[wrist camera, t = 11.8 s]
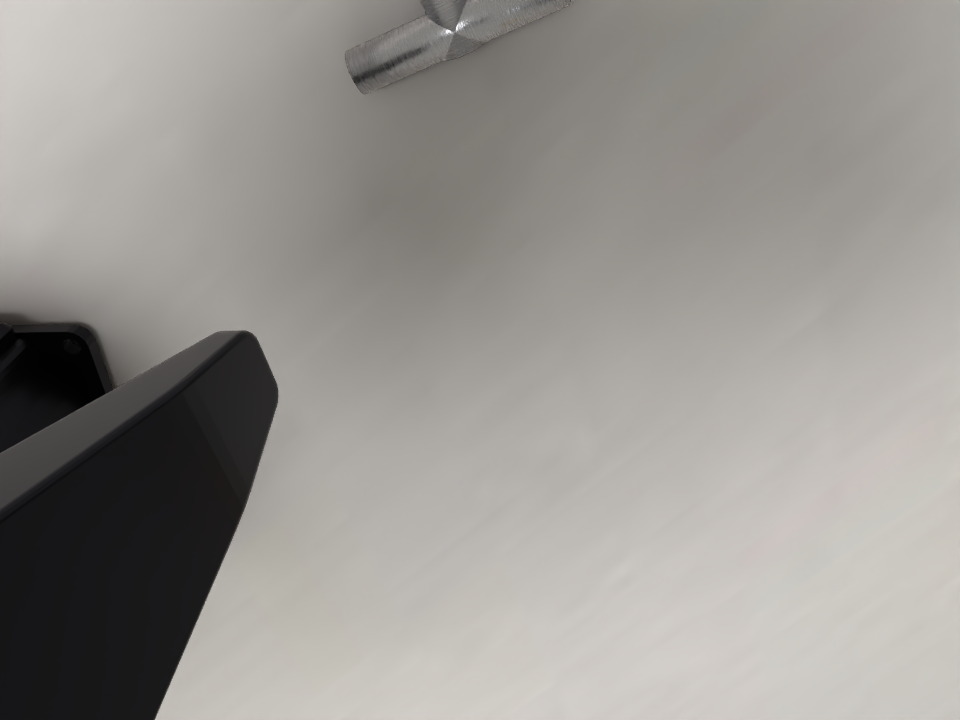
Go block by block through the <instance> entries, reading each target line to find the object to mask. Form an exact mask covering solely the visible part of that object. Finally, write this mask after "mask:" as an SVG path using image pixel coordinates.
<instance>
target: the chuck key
mask: <svg viewBox="0 0 960 720" xmlns="http://www.w3.org/2000/svg"><path fill="white" fill-rule="evenodd" d="M420 2H421V4H422V7H423V9H424V11H425V14H426V15H425V16H422V17H420V18H418V19H416V20H414V21H411V22H409V23H407V24H405V25H403V26H400V27H398V28H396V29H394V30H392V31H389V32H387V33H385V34H383V35H381V36H378V37H376V38H374V39H372V40H370V41H367V42H365V43H363V44H361V45H359V46H356V47H354V48H352V49H350V50H348V51H346V52H345V60H346V64H347V67H348V70H349V73H350V75H351V77H352V79H353V81H354V83H355V85H356V86H357V88H358V89H359V90H360V91H361V92H362V93H363V94H367V93H369V92H372V91H374V90H376V89H379V88H381V87H383V86H385V85H388V84H390V83H392V82H395V81H397V80H399V79H401V78H404V77H406V76H408V75H411V74H413V73H415V72H418V71H420V70H422V69H424V68H427V67H429V66H431V65H434V64H436V63H438V62H440V61H443V60H452V59H456V58H458V57H461V56H463V55H466V54H468V53H470V52H472V51H474V50H476V49H477V48H479V47H481V46H482V45H483V44H485V43H486V41H489V40H491V39H493V38H495V37H498V36H500V35H502V34H505V33H507V32H509V31H512V30H514V29H516V28H518V27H521V26H523V25H525V24H528V23H530V22H532V21H534V20H537V19H539V18H541V17H544V16H546V15H548V14H550V13H553V12H555V11H557V10H560V9H562V8H564V7H567V6H569V5H571V4H573V2H572V0H420Z"/></svg>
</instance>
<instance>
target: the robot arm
mask: <svg viewBox="0 0 960 720" xmlns="http://www.w3.org/2000/svg"><path fill="white" fill-rule="evenodd" d="M70 340H74V341H76V342H77V343H78V344H79V345H80V347H77V346H75V345H74V344H72V342H71V341H70ZM277 403H278V387H277V383H276V381H275V378H274V376H273V374H272V371H271V369H270V367H269V365H268V362H267V360H266V358H265V355H264V353H263V351H262V349H261V346H260V344H259V342H258V340H257V338H256V337H255V336H254V335H253V334H252V333H251V332H248V331H245V330H241V331H220V332H216V333H214V334H212V335H210V336H208V337H207V338H205V339H203V340H201V341H200V342H198V343H196V344H194V345H192V346H191V347H189V348H187V349H185V350H183V351H182V352H180V353H178V354H176V355H175V356H173V357H171V358H169V359H167V360H166V361H164V362H162V363H160V364H159V365H157V366H155V367H153V368H151V369H150V370H148V371H146V372H144V373H143V374H141V375H139V376H137V377H135V378H134V379H132V380H130V381H128V382H127V383H125V384H123V385H121V386H119V387H118V388H116V389H114V390H113V388H112V385H111V382H110V380H109V377H108V374H107V371H106V368H105V365H104V363H103V360H102V357H101V354H100V351H99V349H98V346H97V343H96V340H95V338H94V336H93V335H92V333H91V332H89V331H88V330H87V329H86V328H84V327H82V326H79V325H12V326H11V325H10V324H7V323H3V322H0V720H155V718H156V716H157V713H158V711H159V709H160V706H161V704H162V702H163V699H164V697H165V695H166V692H167V690H168V688H169V685H170V683H171V681H172V678H173V676H174V674H175V671H176V669H177V667H178V664H179V662H180V660H181V657H182V655H183V653H184V650H185V648H186V646H187V643H188V641H189V639H190V636H191V634H192V632H193V629H194V627H195V625H196V622H197V620H198V618H199V615H200V613H201V611H202V608H203V606H204V604H205V601H206V599H207V597H208V594H209V592H210V590H211V588H212V585H213V583H214V581H215V578H216V576H217V574H218V571H219V569H220V567H221V564H222V562H223V560H224V557H225V555H226V553H227V550H228V548H229V546H230V543H231V541H232V539H233V536H234V534H235V532H236V529H237V527H238V524H239V522H240V519H241V517H242V514H243V512H244V509H245V506H246V503H247V500H248V497H249V495H250V492H251V488H252V485H253V482H254V479H255V475H256V472H257V469H258V466H259V462H260V459H261V456H262V453H263V449H264V446H265V443H266V440H267V436H268V433H269V430H270V427H271V423H272V420H273V417H274V414H275V411H276V407H277Z"/></svg>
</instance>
